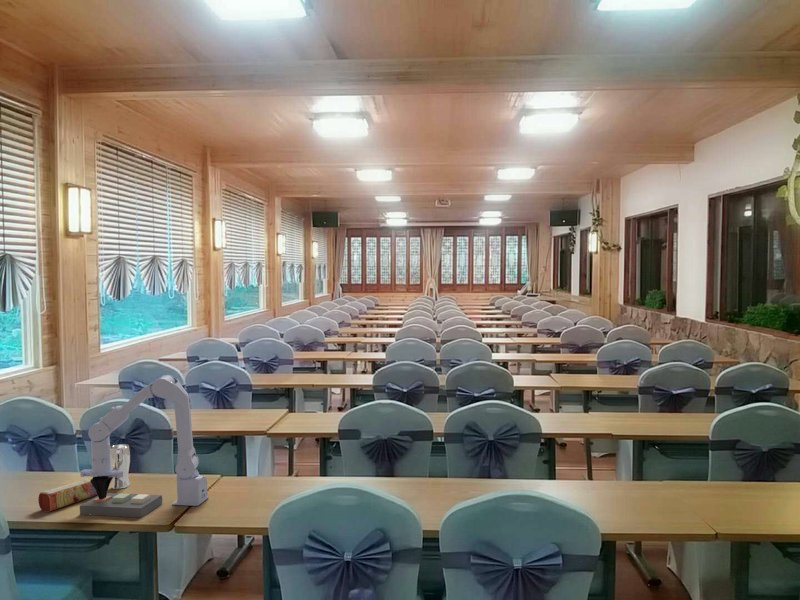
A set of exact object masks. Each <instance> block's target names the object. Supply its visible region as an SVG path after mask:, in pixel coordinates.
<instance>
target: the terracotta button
mask: <svg viewBox="0 0 800 600" xmlns="http://www.w3.org/2000/svg"><path fill="white" fill-rule="evenodd" d="M111 498H112V496H106V497H105V498H104V499H99V498H96V499H94V500H93V502H106V501H108V500H109V499H111Z"/></svg>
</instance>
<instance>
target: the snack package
mask: <svg viewBox="0 0 800 600" xmlns="http://www.w3.org/2000/svg"><path fill="white" fill-rule="evenodd" d="M91 479H93V477H91V476H90V477H88V478H86V479H82V480H78V481H74V482H71V483H69V484H64V485H61V486H59V487H58V486H57V487H54V488H51V489H47V490H43V491H41V492H40V493H39V494H38V506H39V509H40V510H41V511H43V512H46V513H51V512H53V511H55V510H57V509H60V508H63V507H64V508H65V507H67V506H70V505H73V504H75V503H78V502H81V501H83V500H87V499H90V498H94V497H97V496H98V495H97V492H96V489H95V487H94V486H93V484H92V483H91V481H90V480H91ZM96 495H97V496H96Z"/></svg>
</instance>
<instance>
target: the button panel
mask: <svg viewBox="0 0 800 600" xmlns="http://www.w3.org/2000/svg"><path fill="white" fill-rule="evenodd" d="M118 494H122V493H120V492H119V493H117V492H116V493H115V492H114V493H113V492H107V496H112V498H113V497H114V496H116V495H118ZM130 494H131V498H133V497H135V496H137V495H138V494H139V493H130ZM146 495H148V494H146ZM149 495H150V500H148V501H147V502H145V503H144V504H135V503H132V499H130V500H128V501H126V502H124V503H112V498H111V499H109V500H108V501H106V502H93V500H94V499H96V498H98V495H97V496H94V497H92V499H89V500H87V501H86V502H84V503H82V504H80V505H79V515H80V516H81V515H82V516H98V515H106V516H105V517H119V516H123V517H124V518H143V517H145V516H146V515H148V514H149V513H151V512H152V511H154V510H155V509H157V508H158V507H160V506H161V505H163V495H162V494H149ZM147 513H148V514H147ZM89 514H91V515H89ZM142 516H143V517H142ZM123 517H122V518H123Z"/></svg>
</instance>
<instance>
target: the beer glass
mask: <svg viewBox="0 0 800 600" xmlns="http://www.w3.org/2000/svg"><path fill="white" fill-rule="evenodd" d="M110 455H111V469H115V470H119V471H123V477H121V478H117V477H113V479H112V481H111V489H112V490H122V488H123V489H125V488H128V487H129V486H130V485H131V483H130V480H129V472H130V471H129V470H130V466H131V465H130V464H131V452H130V445H129V444H126V443H123V444H122V443H120V444H115V445H112V446H111V445H110Z"/></svg>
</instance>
